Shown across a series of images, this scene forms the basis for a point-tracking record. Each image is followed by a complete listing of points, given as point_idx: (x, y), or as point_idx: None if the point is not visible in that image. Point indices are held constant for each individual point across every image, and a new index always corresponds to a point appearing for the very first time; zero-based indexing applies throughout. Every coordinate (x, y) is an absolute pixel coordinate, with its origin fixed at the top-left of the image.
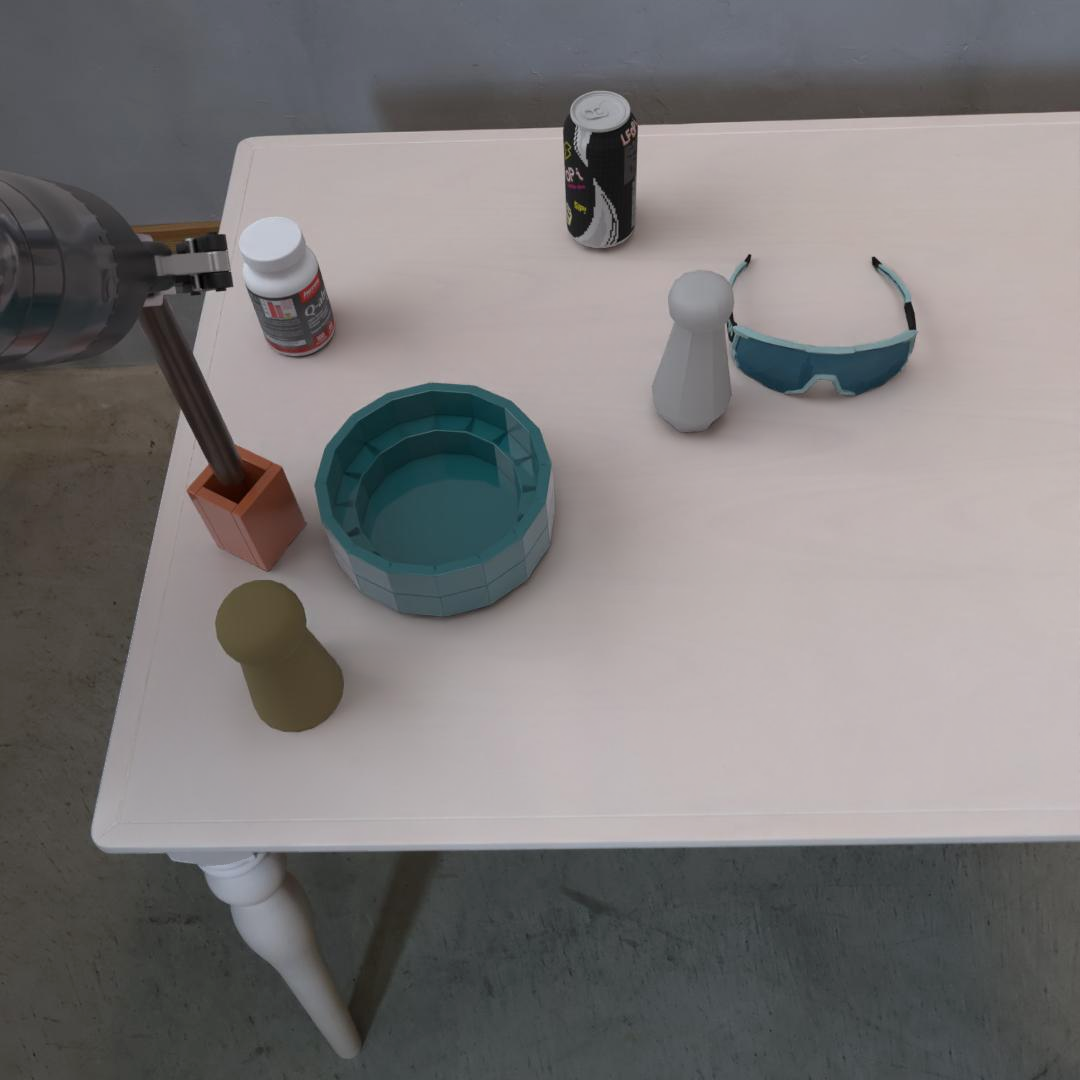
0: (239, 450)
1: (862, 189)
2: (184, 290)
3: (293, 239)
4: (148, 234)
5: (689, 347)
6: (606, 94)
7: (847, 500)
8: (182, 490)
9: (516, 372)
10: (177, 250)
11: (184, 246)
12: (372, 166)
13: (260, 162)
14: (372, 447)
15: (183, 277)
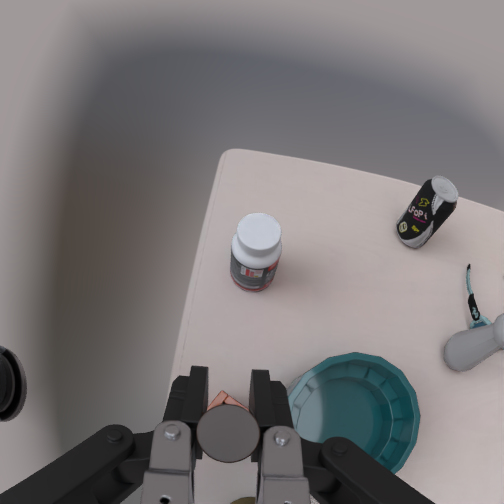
0: (229, 399)
1: (495, 237)
2: (315, 496)
3: (275, 234)
4: (308, 483)
5: (491, 350)
6: (444, 179)
7: (500, 403)
8: None
9: (377, 322)
10: (327, 466)
11: (360, 493)
12: (290, 170)
13: (230, 156)
14: (308, 385)
15: (320, 487)
